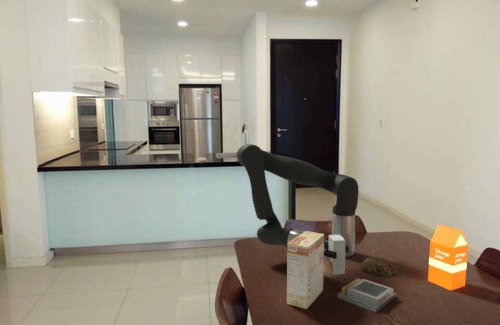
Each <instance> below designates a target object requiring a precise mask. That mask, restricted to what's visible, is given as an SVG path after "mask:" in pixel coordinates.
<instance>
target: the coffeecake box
mask: <svg viewBox="0 0 500 325" xmlns="http://www.w3.org/2000/svg"><path fill="white" fill-rule="evenodd" d="M304 231H305V232H303V233H302V234H300V235H299V236H298V237H296V238H295V239H293V240H292V241H290V242H289V243H288V244H287V247H286V248H287V249H286V251H287V252H286V255H287V256H286V259H287V260H286V265H287V266H286V304H287V305H289V306H293V307H298V308H300V309H304V310H308V308H309V307H310V306H311V305H312V304H313V303H314V302H315V300H316V299H317V298H318V297H319V295H321V293H322V292H323V291H324V259H325V257H324V240H325V234H324V233H320V232H315V231H309V230H304Z"/></svg>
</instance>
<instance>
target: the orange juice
mask: <svg viewBox="0 0 500 325" xmlns="http://www.w3.org/2000/svg"><path fill="white" fill-rule="evenodd" d="M429 244H430V245H429V257H428V276H427V282H430V283H432V284H435V285H438V286H440V287H442V288H444V289H446V290H449V291H455V290H457V289H459V288H463V287H466V279H467V278H466V274H467V264H468V263H467V262H468V261H467V260H468V251H469V250H468V249H469V247H468V246H469V244H468V242H467V240H466V237H465V234H464V233H463V231H462V230H460V229H456V228H453V227H450V226H446V225H442V224H438V225H437V228H436V229H435V231H434V233H433V236H432V238H431V239H430V242H429ZM462 286H463V287H462Z"/></svg>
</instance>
